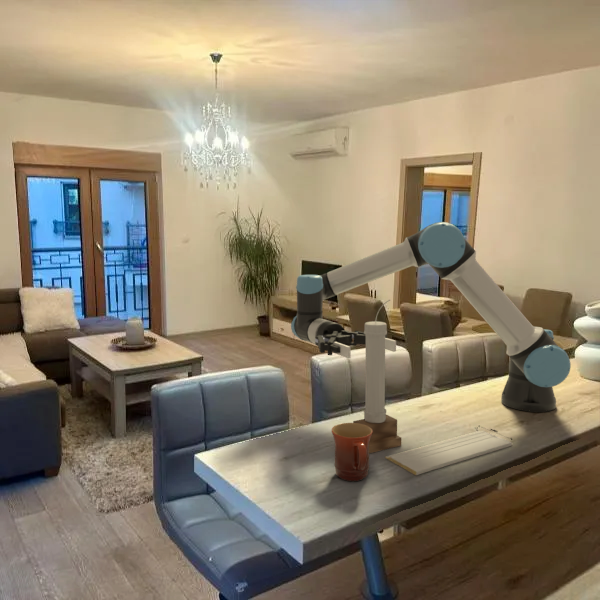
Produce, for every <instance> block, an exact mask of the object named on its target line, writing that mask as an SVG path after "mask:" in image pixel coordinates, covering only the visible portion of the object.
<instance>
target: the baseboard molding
mask: <svg viewBox="0 0 600 600" xmlns="http://www.w3.org/2000/svg"><path fill="white" fill-rule="evenodd" d="M478 428H479V426H478V427H477V426H476V428H475V430H474V431H473V432H469V433H466V434H465V433H464V434H462V435H459V436H454V437H450V438H447V439H444V440H443V439H442V440H440V441H437V442H432V443H429V444H426V445H422V446H419V447H415V448H411V449H408V450H405V451H401V452H396V453H394V454H391V455H390V454H389V455H387V456H385V457H384V458H385V459H387V461H390V462H392V463H393V464H395V465H397V466H399V467H401V468H402V469H404V470H405V471H408V472H409V473H410V474H413V475H415V476H418V475H421V474H425V473H427V472H431V471H434V470H438V469H441V468H443V467H447V466H449V465H450V466H451V465H454V464H457V463H460V462H463V461H465V460H466V461H467V460H469V459H473V458H476V457H480V456H482V455H485V454H489V453H492V452H495V451H498V450H502V449H506V448H508V447H511V446H513V442H512V440H513V438H512V437H510V440H511V441H510V440H508V439H509V437H507V436H506V438H507V439H505V438H503V437H504V435H502V434H501V436H503V437H499V436H497V435H499V433H498V431H499V430H495V429H492V428H490V431H491V432H492V433H496V434H497V435H496V434H495V435H494V434H492V433H490V432H488V431H489V429H487V428H486V430H488V431H485V430H478ZM481 428H483V429H484V427H483V426H481Z"/></svg>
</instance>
